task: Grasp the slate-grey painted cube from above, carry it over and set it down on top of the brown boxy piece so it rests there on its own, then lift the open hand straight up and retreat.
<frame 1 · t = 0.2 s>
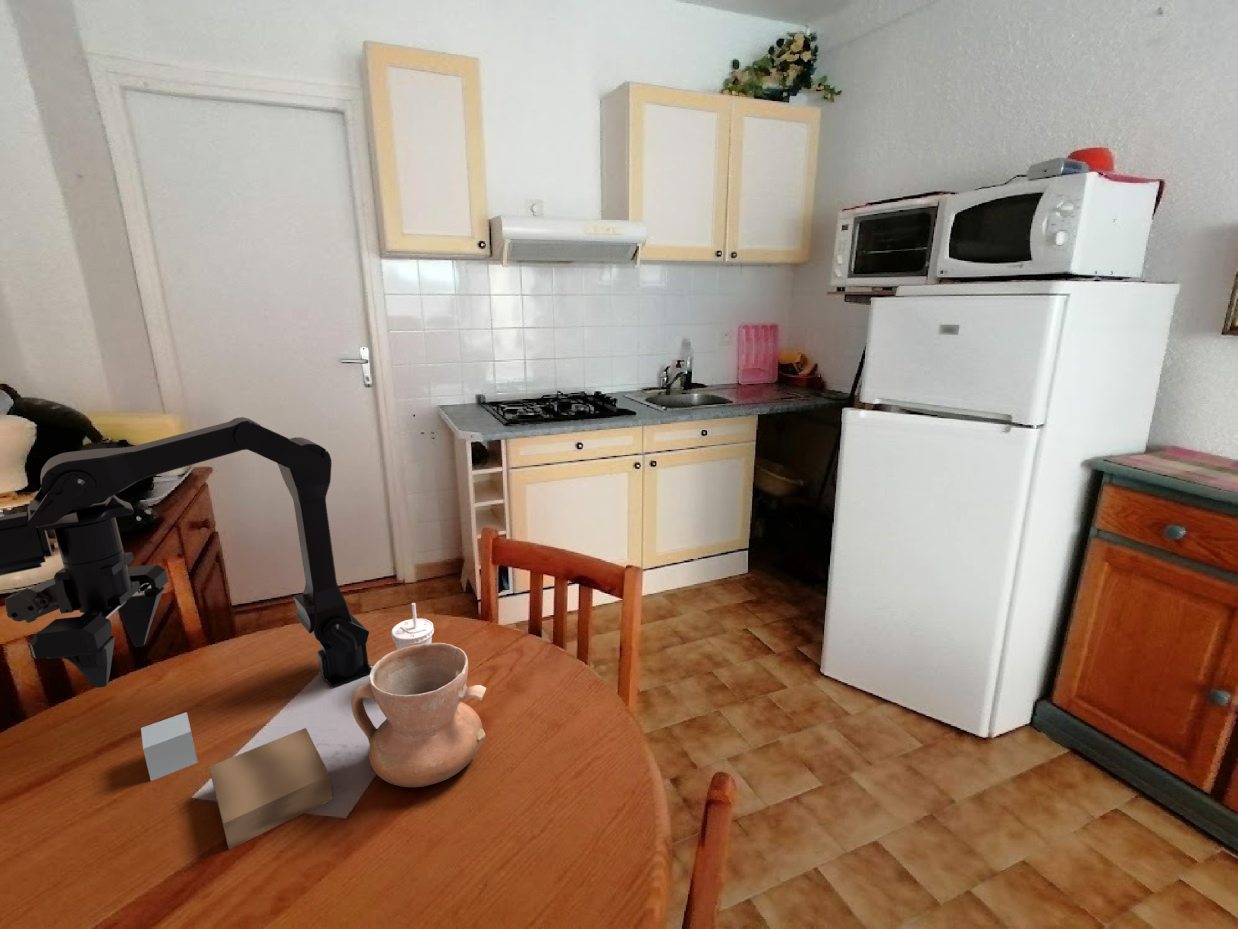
hand: (121, 665, 78), 14 cm above the table, tool pointing down, fingers open, 9 cm apart
brown boxy piece: (273, 797, 75), on the table
ceramic jug: (424, 759, 81), on the table
smoothie: (417, 682, 97), on the table
grey cube: (173, 761, 80), on the table
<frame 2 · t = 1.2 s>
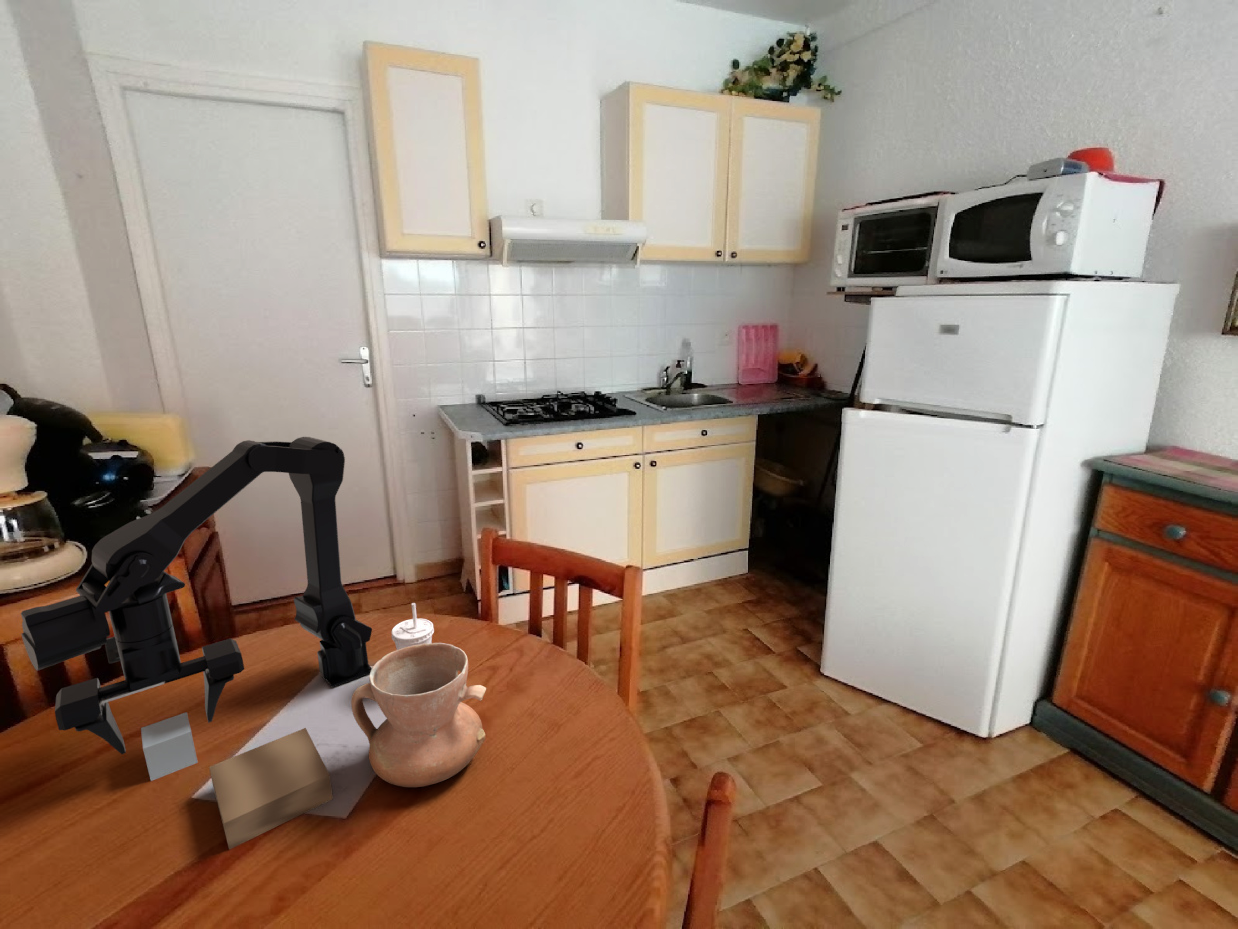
hand: (168, 735, 79), 4 cm above the table, tool pointing down, fingers open, 9 cm apart
nothing on the table moved.
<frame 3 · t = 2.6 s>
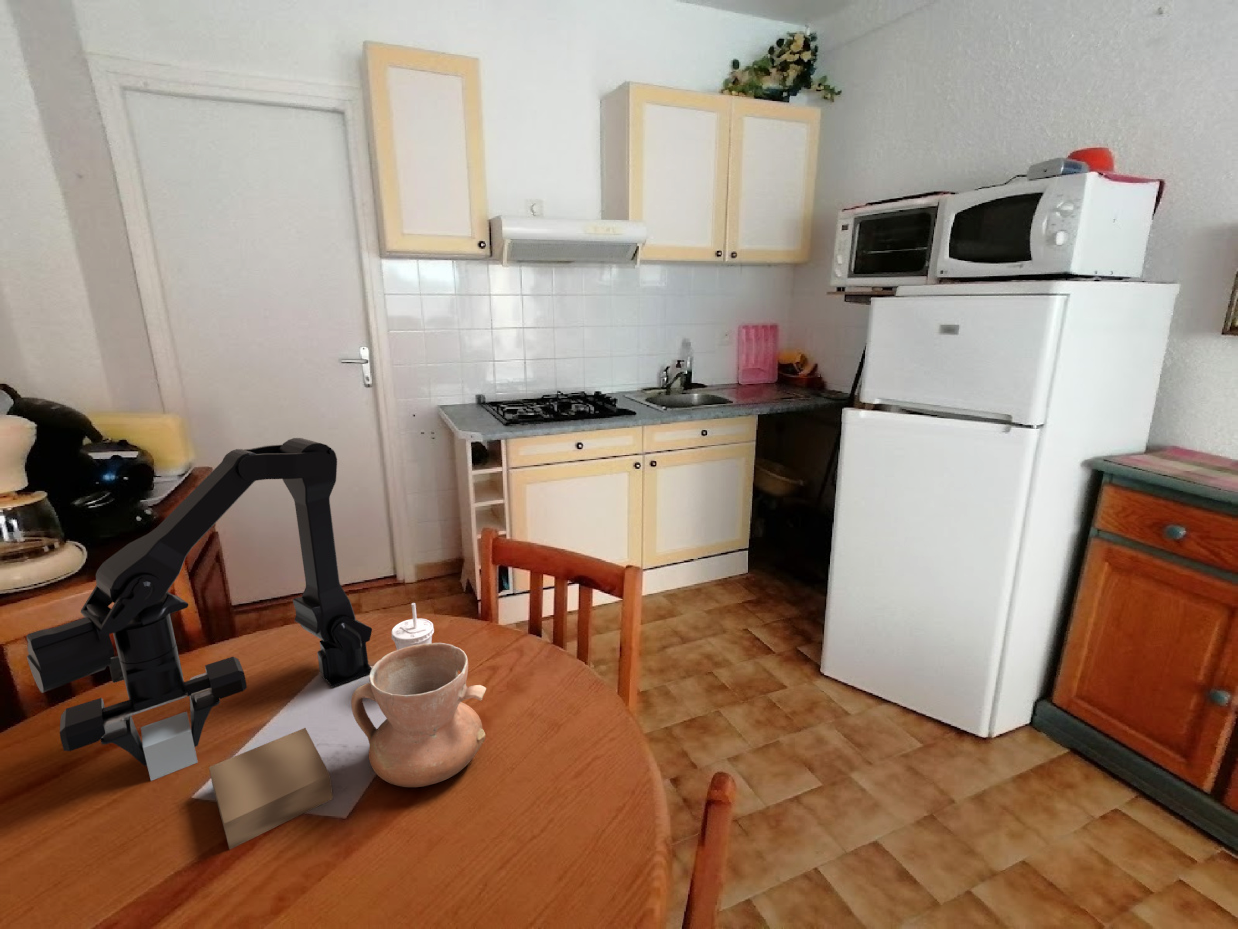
hand: (171, 754, 80), 1 cm above the table, tool pointing down, fingers closed on grey cube, 5 cm apart
grey cube: (172, 760, 80), on the table, touching gripper
everything else where it was.
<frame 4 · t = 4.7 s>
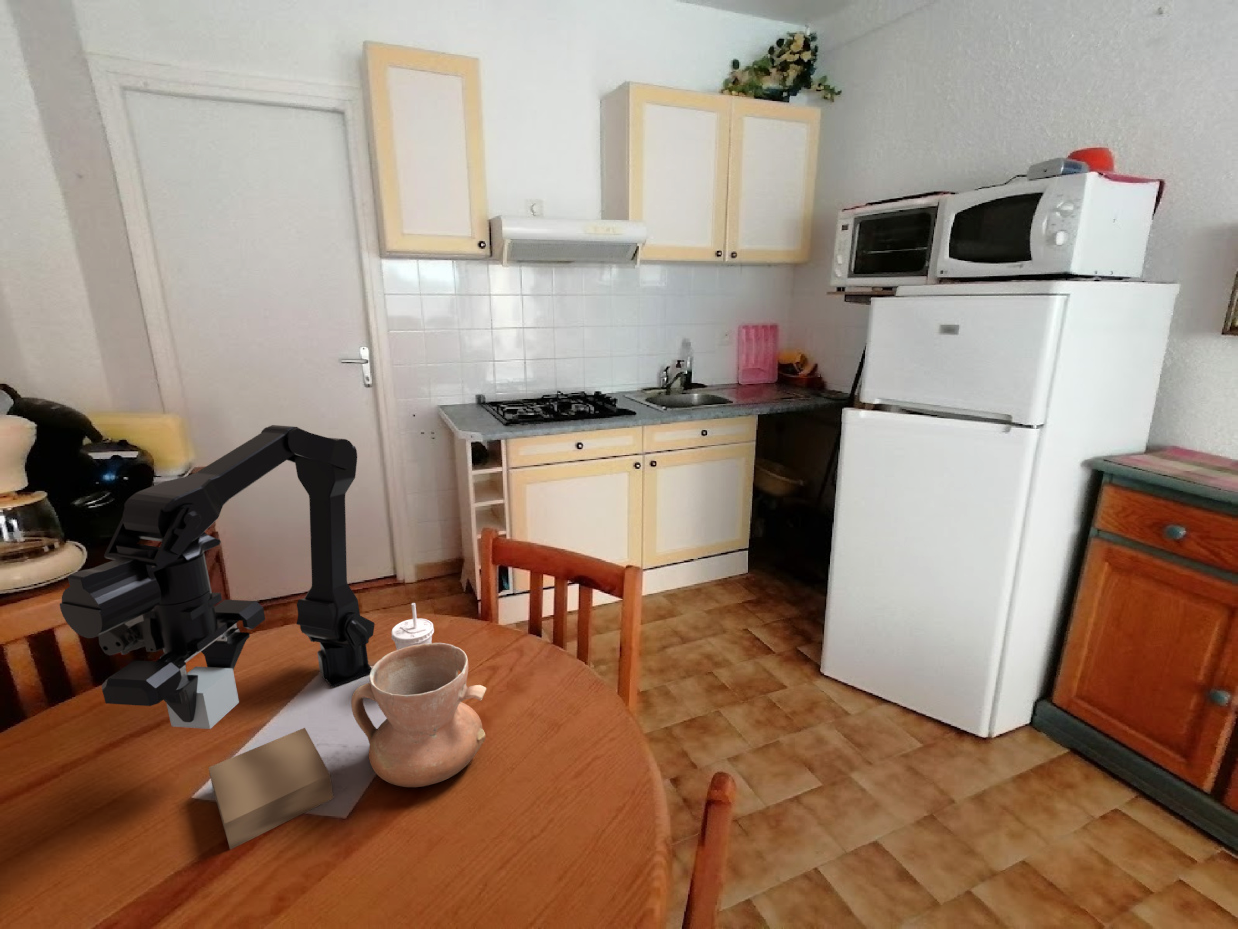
hand: (204, 707, 75), 10 cm above the table, tool pointing down, fingers closed on grey cube, 5 cm apart
grey cube: (206, 714, 75), point 9 cm above the table, touching gripper
everything else where it was.
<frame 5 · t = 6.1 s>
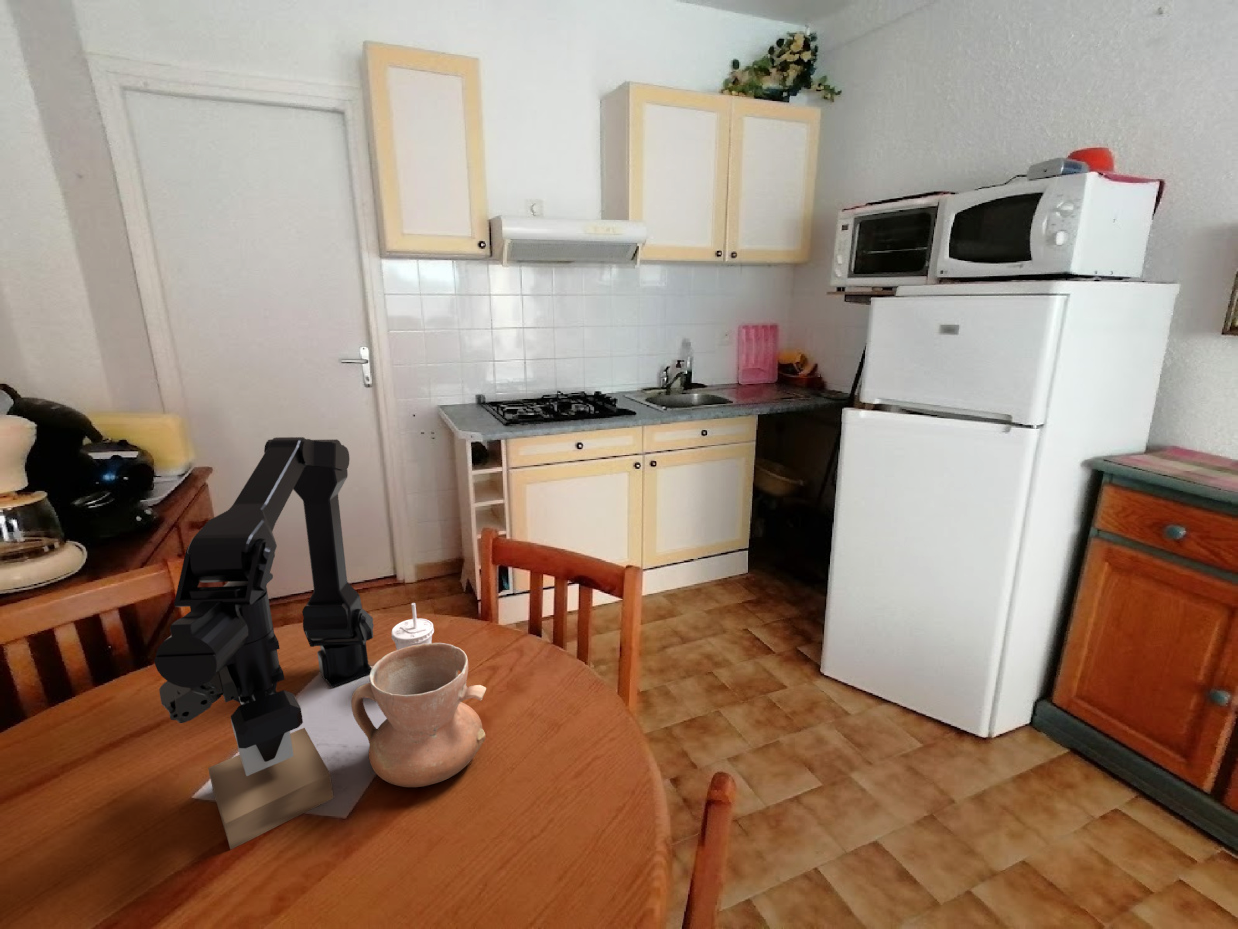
hand: (264, 747, 73), 7 cm above the table, tool pointing down, fingers closed on grey cube, 5 cm apart
grey cube: (266, 754, 73), point 6 cm above the table, touching gripper
everything else where it was.
when the fingers open (6 cm above the table, at t = 7.0 s): grey cube drops 2 cm, point 4 cm above the table.
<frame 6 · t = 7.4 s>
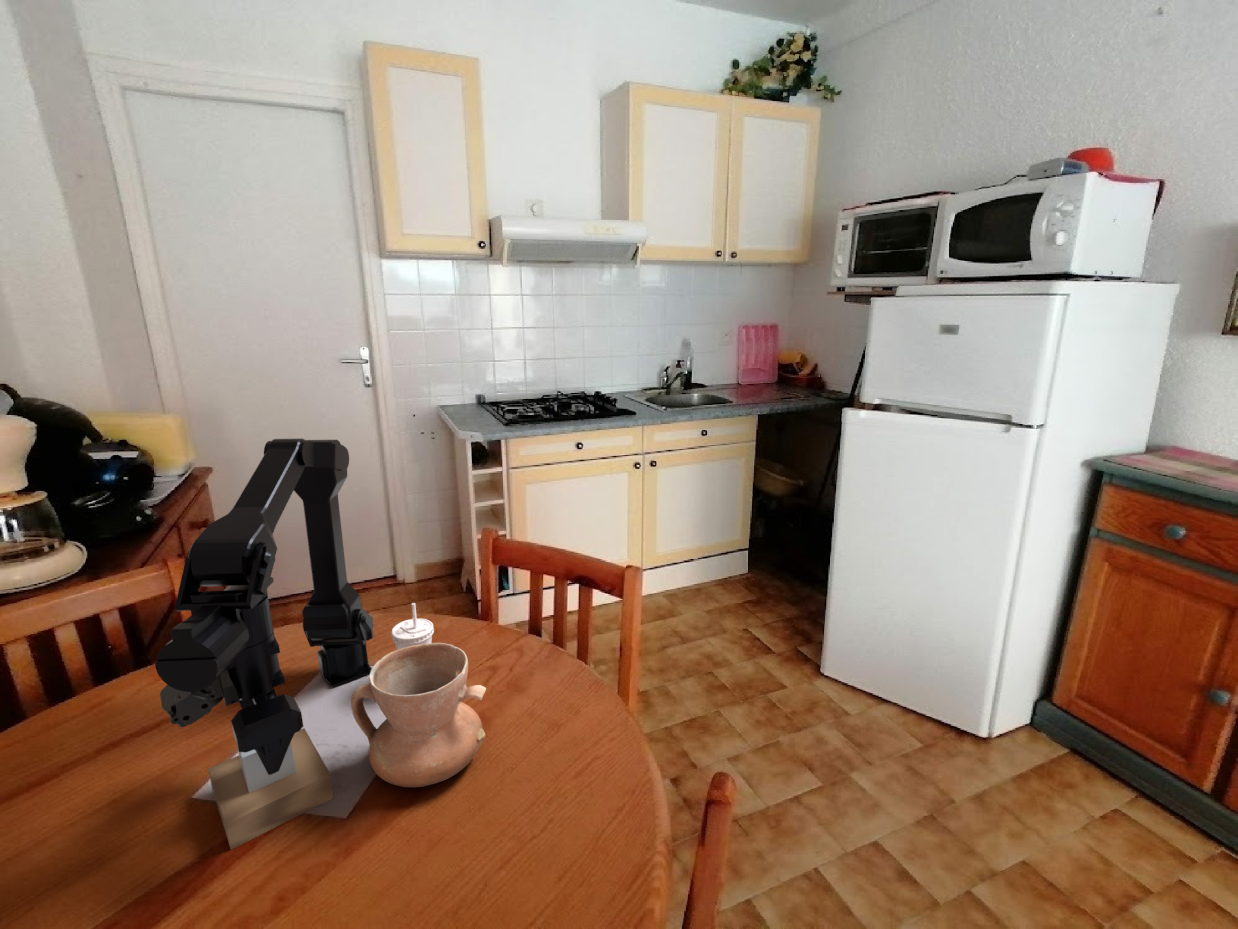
hand: (265, 750, 73), 6 cm above the table, tool pointing down, fingers open, 9 cm apart
grey cube: (268, 770, 74), point 4 cm above the table
everything else where it was.
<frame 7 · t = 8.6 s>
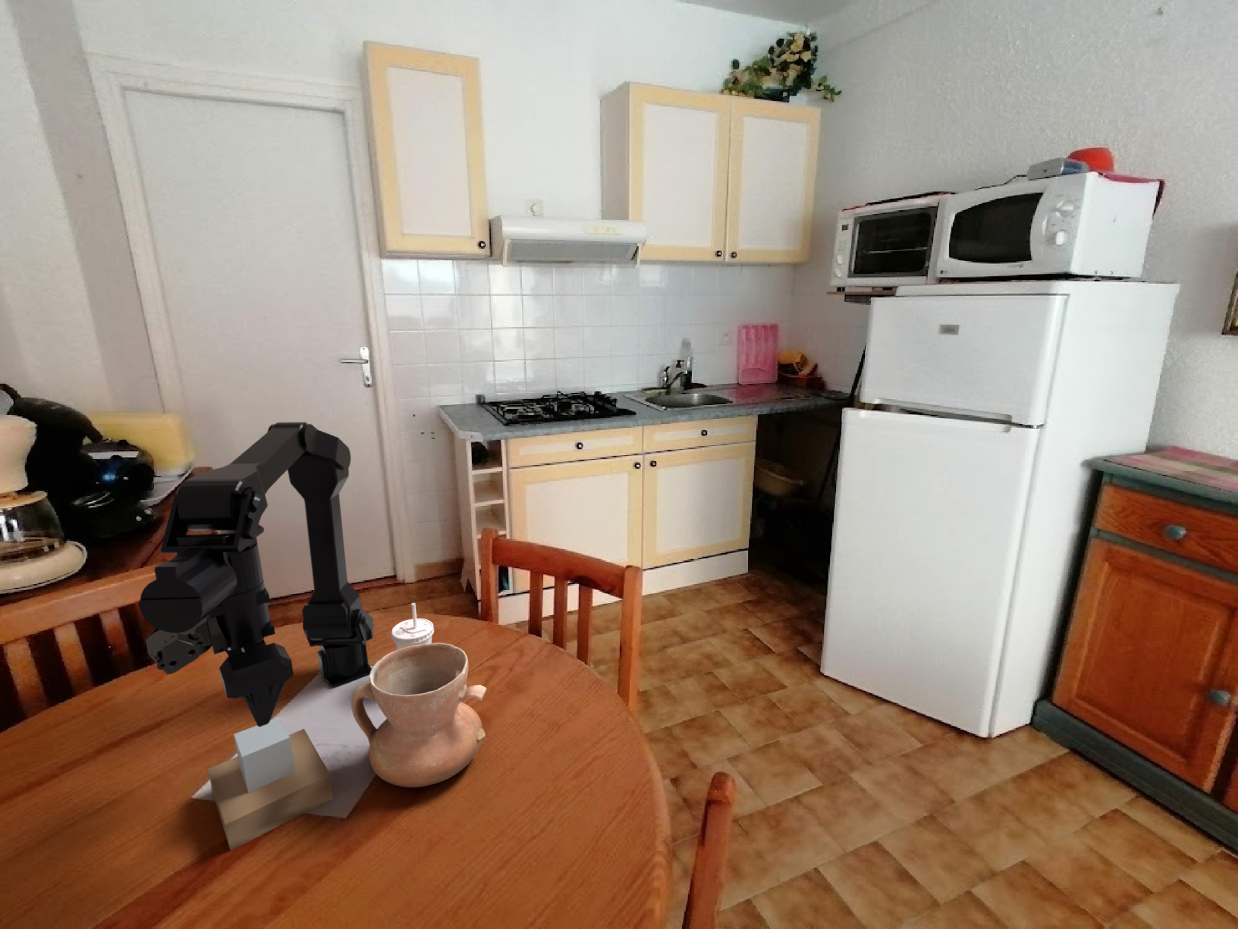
hand: (255, 704, 71), 13 cm above the table, tool pointing down, fingers open, 9 cm apart
brown boxy piece: (273, 798, 75), on the table, touching grey cube
grey cube: (267, 770, 74), point 3 cm above the table, touching brown boxy piece
everything else where it was.
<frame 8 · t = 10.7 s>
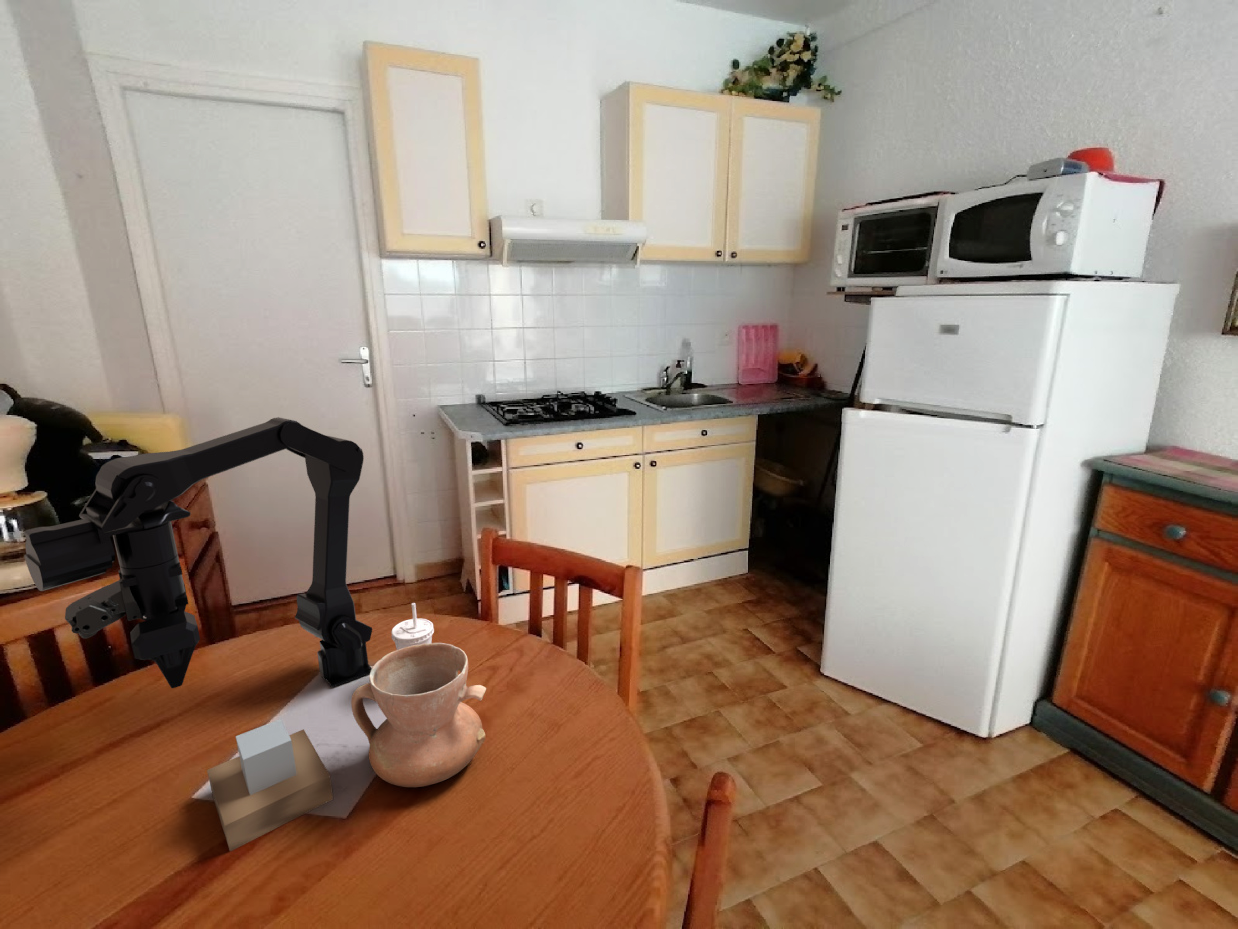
hand: (173, 669, 78), 13 cm above the table, tool pointing down, fingers open, 9 cm apart
nothing on the table moved.
at the end: grey cube 0.1 cm off-centre on the brown boxy piece, point 4.0 cm above the brown boxy piece's base; grey cube touching nothing; the gripper is holding nothing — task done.
